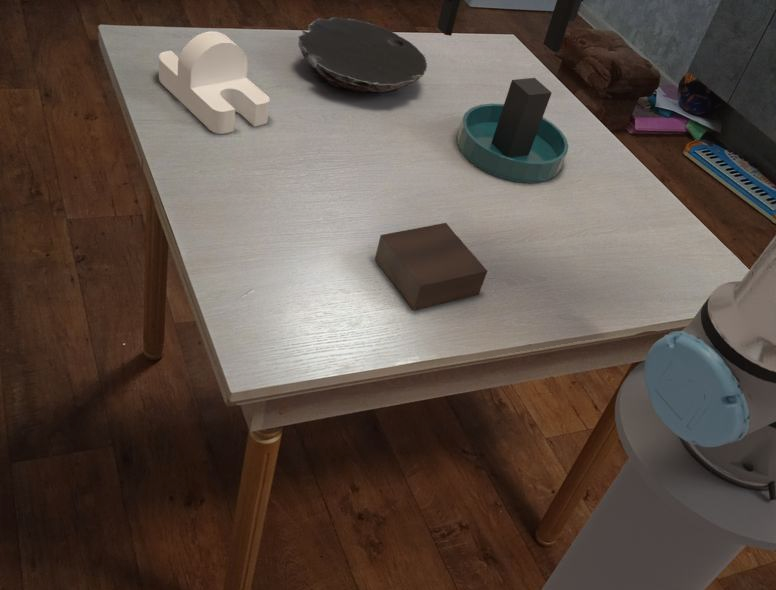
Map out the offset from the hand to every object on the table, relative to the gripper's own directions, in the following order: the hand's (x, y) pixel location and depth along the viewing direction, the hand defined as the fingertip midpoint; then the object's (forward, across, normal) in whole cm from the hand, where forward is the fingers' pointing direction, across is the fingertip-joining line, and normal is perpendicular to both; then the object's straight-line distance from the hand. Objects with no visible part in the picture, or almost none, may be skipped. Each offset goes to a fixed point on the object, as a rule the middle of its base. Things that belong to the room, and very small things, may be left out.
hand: (498, 40), depth 94 cm
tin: (+23, -20, -25) cm, 40 cm away
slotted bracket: (+24, +26, -37) cm, 51 cm away
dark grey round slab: (+21, 0, -47) cm, 51 cm away
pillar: (+22, -20, -25) cm, 39 cm away
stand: (+29, +3, +4) cm, 30 cm away
